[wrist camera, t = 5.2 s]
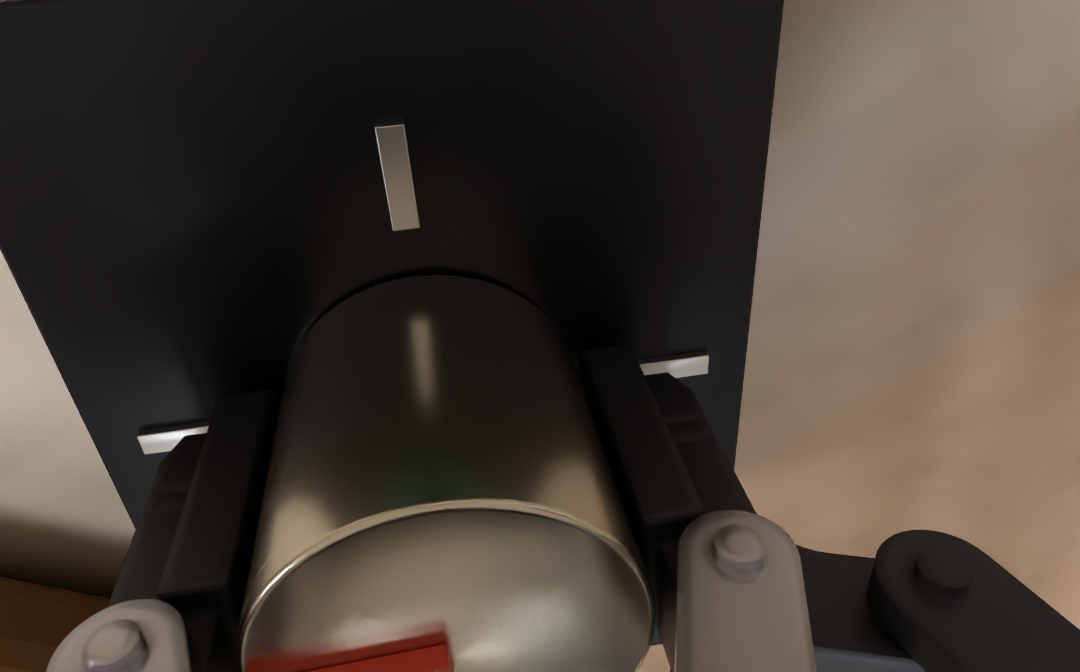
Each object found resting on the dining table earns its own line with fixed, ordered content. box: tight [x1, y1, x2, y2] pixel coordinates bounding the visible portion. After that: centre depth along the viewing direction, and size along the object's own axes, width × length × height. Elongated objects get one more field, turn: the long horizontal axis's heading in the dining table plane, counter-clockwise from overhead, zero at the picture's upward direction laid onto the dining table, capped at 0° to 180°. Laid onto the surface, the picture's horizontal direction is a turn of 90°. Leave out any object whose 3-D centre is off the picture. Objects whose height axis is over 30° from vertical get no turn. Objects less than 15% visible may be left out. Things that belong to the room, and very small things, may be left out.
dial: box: [236, 274, 656, 672], centre depth 10 cm, size 4×4×5 cm
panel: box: [0, 0, 784, 529], centre depth 13 cm, size 12×10×3 cm
